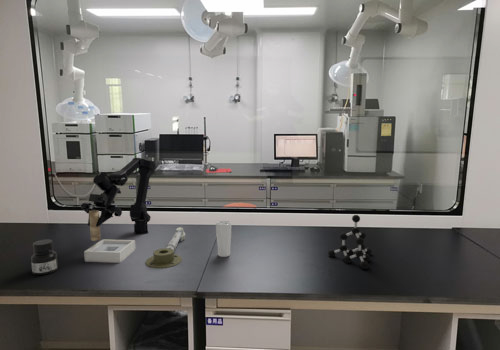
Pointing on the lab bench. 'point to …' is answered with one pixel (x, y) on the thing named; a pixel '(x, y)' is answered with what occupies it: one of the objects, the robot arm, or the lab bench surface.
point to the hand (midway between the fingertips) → (92, 225)
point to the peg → (94, 225)
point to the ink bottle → (44, 258)
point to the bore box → (110, 251)
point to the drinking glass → (223, 237)
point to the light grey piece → (176, 238)
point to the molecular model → (360, 251)
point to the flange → (163, 258)
